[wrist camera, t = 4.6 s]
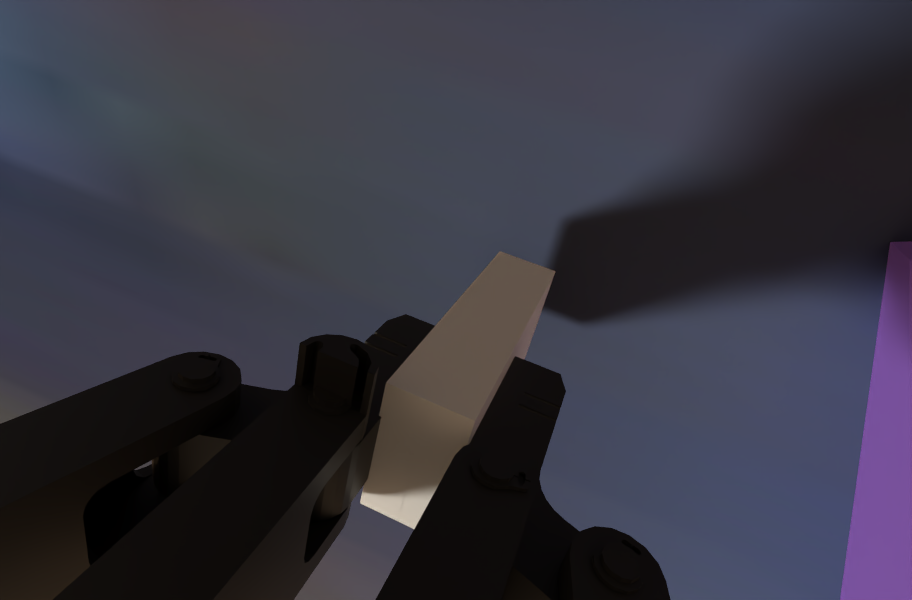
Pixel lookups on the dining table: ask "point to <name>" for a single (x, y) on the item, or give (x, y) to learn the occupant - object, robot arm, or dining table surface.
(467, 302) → the robot arm
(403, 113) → the dining table surface
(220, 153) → the dining table surface
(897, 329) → the bracket
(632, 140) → the dining table surface
